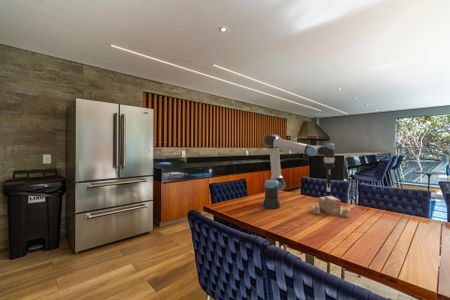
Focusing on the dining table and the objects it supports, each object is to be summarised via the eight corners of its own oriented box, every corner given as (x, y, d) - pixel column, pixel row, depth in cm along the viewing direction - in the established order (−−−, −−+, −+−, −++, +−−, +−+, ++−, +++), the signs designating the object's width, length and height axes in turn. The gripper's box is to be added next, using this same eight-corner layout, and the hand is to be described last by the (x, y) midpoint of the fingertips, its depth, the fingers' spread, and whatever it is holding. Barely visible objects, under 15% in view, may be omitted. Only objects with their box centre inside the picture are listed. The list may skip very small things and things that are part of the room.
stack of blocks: (318, 207, 187) (318, 193, 186) (325, 207, 187) (325, 193, 187) (332, 215, 165) (332, 199, 165) (340, 215, 166) (340, 199, 165)
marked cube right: (341, 216, 164) (341, 209, 164) (341, 214, 168) (341, 207, 168) (348, 217, 162) (349, 210, 161) (348, 215, 166) (348, 208, 166)
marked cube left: (312, 213, 171) (312, 206, 171) (311, 211, 176) (311, 205, 176) (319, 213, 170) (319, 207, 170) (318, 211, 175) (318, 205, 175)
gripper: (335, 163, 167) (334, 193, 168) (333, 162, 179) (332, 190, 180) (324, 163, 170) (323, 192, 171) (323, 161, 182) (323, 189, 183)
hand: (328, 191), depth 175 cm, fingers closed
